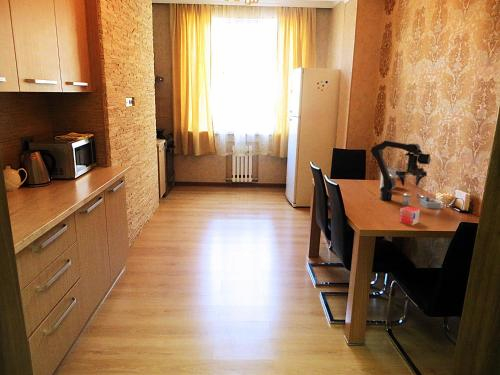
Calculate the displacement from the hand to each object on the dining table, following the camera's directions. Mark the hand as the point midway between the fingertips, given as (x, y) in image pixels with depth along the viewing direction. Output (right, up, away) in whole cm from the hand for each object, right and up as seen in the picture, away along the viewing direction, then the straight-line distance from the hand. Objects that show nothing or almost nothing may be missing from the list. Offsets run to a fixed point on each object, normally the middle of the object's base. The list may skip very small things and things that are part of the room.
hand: (409, 185), depth 244 cm
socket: (+12, -13, -2) cm, 18 cm away
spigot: (-4, -13, -2) cm, 14 cm away
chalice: (+6, -1, +55) cm, 55 cm away
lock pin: (+12, -9, +9) cm, 18 cm away
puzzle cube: (-17, -21, -36) cm, 45 cm away
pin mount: (+12, -12, +6) cm, 18 cm away
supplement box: (-2, -4, +40) cm, 40 cm away
